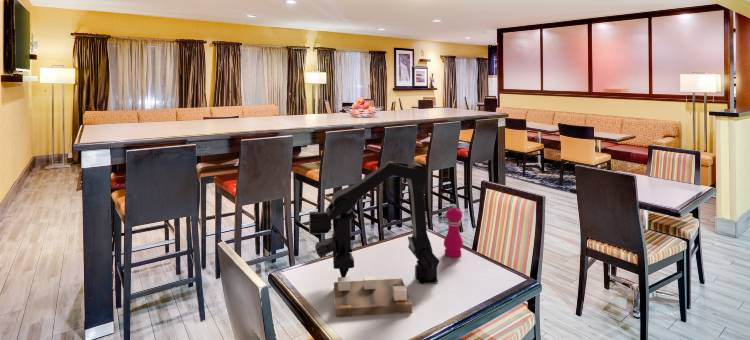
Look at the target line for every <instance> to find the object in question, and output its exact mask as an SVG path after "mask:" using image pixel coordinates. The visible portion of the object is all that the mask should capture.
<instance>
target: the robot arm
mask: <svg viewBox="0 0 750 340" xmlns="http://www.w3.org/2000/svg"><path fill="white" fill-rule="evenodd" d="M428 174H429V173H428V170H427V168H426V167H425V166H423V165H421V164H420V163H418V162H415V161H414V162H413V161H412V162H409V163H404V162H397V161H396V162H395V161H392V160H387V161H385V162H384V163H383V164H382V165H380V166H379V167H378V168H377V169H375V170H373V171H372V172H371V173H369V174H367V175H366V176H365V177H363V178H362V179H361V180H359V181H357V183H355V184H353V185H351V186H347V187H344V188H342V189H340V190H337V191H335V192H334V193H333V194H332V196H331V202H330V203H329V204H328V206H327V207H326V208H325V211H310V212H309V213H308V215H309V218H308V228H309V229H308V231H309V235H319V234H320V235H321V234H322V235H323V234H328V233H329V232H330V231H331V230H332V234H331V235H332V236H331V237H330V238H326V239H323V240H322V241H319V242H317V243H315V246H314V247H315V251H316V254H317V255H318V257H319V258H322V257H324V256H325V255H328V254H330V253H332V255H333V257H332V259H333V260H332V261H333V269H335V270H337V269H338V270H339V273H340V277H347V274H348V272H349V270H350V269H353V268H355V259H354V256H353V253H352V252H353V247H352V240H353V237H352V235H353V234H352V219H357V218H358V215H357V213H356V212H355V211H353V209H352V208H354V207H355V206H356V205H357V203H358V202H359V201H360V199H361V198H362V197H364V196H365V195H366V194H367V193H369V192H371V191H372V190H373V189H375V188H377V187H378V186H379V185H381V184H382V183H384V182H385V181H387V180H388V179H390V178H391V177H392V176H395V177H399V178H402V179H406V183H407V186H408V189H409V193H410V203H411V216H412V217H411V218H412V235H411V236H407V240H408V249H409V251H411V254H413V255H414V257H415V259H417V260H416V264H415V265H414V278H415V279H416V281H417V282H418V284H421V285H422V284H438V283H439V280H438V277H437V276H438V266H439V263H440V259H439V258H438V257H437V256H436V255H435V253H434V252H433V251H434V250H433V248H432V244H431V241H430V238H429V236H428V231H427V217H426V216H427V215H426V214H427V213H426V205H425V204H426V202H425V190H426V186H427V184H428V183H427V182H428Z"/></svg>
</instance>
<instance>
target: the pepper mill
mask: <svg viewBox="0 0 750 340" xmlns="http://www.w3.org/2000/svg"><path fill="white" fill-rule="evenodd" d="M445 217H446V219H447V223H446V224H447V225H448V228H447V230H448V231H447V233H446V236H445V237H444V240H443V246H444V247H445V248H444V255H445V256H446V257H449V258H452V259H453V258H454V257H455V258H460V257H461V256H462V248H463V246H464V241H463V238H462V235H461V234H460V226H461V223H462V222H461V220H462V218H463V212H462V210H461V209H459V208H458V206H457V204H456V203H455V204H454V203H453V204H452V205H451V207H450V208H449V209H447V211H446V213H445Z"/></svg>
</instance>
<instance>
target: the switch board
mask: <svg viewBox="0 0 750 340" xmlns="http://www.w3.org/2000/svg"><path fill="white" fill-rule="evenodd" d="M393 286H405V287H406V285H405V282H404V280H403V278H389V279H388V278H387V279H376V289H364V280H354V281H353V280H350V290H348V291H338V281H334V282H333V291H334V292H333V295H334V313H335V314H334V316H335V317H334V318H344V317H359V316H376V315H391V314H406V313H407V314H409V313H413V303H412V301H411V297H410V295H409V293H408V292H407V300H399V301H394V298H393Z"/></svg>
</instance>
